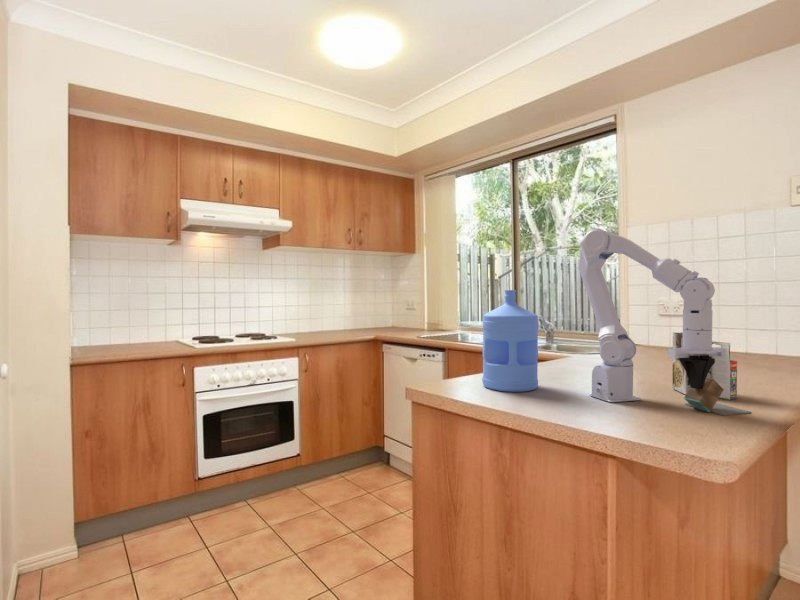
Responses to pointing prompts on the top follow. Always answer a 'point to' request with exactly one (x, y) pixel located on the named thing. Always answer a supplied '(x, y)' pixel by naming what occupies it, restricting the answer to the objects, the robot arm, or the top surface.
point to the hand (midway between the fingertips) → (696, 388)
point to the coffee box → (681, 368)
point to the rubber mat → (725, 410)
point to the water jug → (510, 347)
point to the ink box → (725, 372)
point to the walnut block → (704, 395)
